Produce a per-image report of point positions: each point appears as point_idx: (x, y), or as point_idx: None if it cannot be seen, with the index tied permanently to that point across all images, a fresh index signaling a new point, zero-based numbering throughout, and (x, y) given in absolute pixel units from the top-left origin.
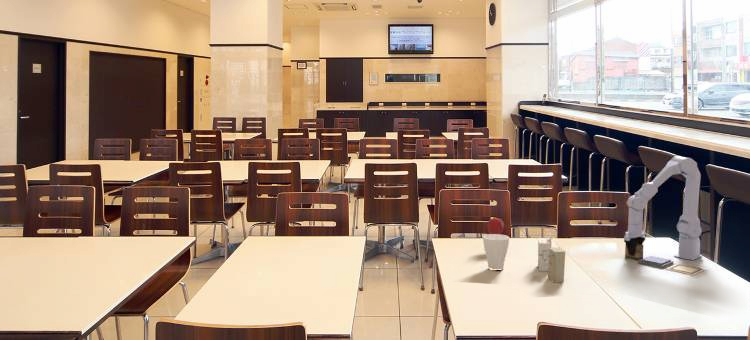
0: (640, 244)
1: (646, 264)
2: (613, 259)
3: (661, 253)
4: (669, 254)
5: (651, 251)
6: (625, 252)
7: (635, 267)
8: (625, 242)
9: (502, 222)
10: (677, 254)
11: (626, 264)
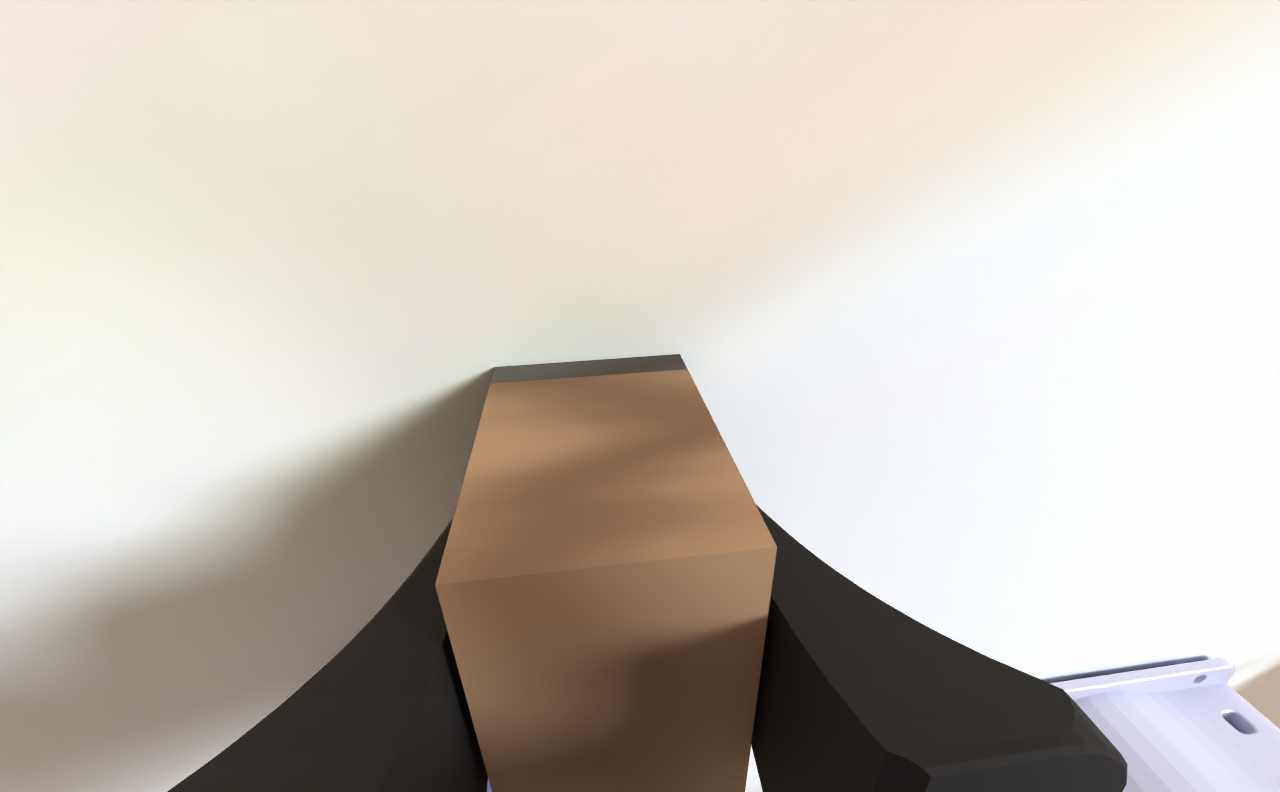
0: (734, 771)
1: None
2: (119, 302)
3: (1112, 547)
4: (1099, 612)
5: (1183, 421)
6: (480, 426)
7: (136, 731)
8: (209, 777)
9: None
10: (1082, 691)
11: (117, 608)
